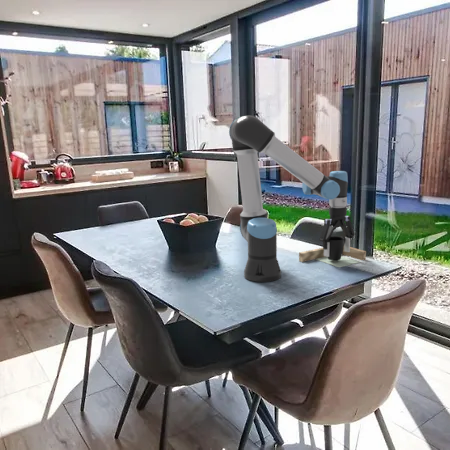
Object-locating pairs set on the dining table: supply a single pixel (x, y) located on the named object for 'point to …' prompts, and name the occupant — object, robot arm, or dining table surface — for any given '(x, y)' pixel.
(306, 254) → the tan bent bar
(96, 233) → the dining table surface
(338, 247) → the mug
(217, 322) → the dining table surface
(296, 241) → the dining table surface
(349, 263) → the mat
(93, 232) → the dining table surface
